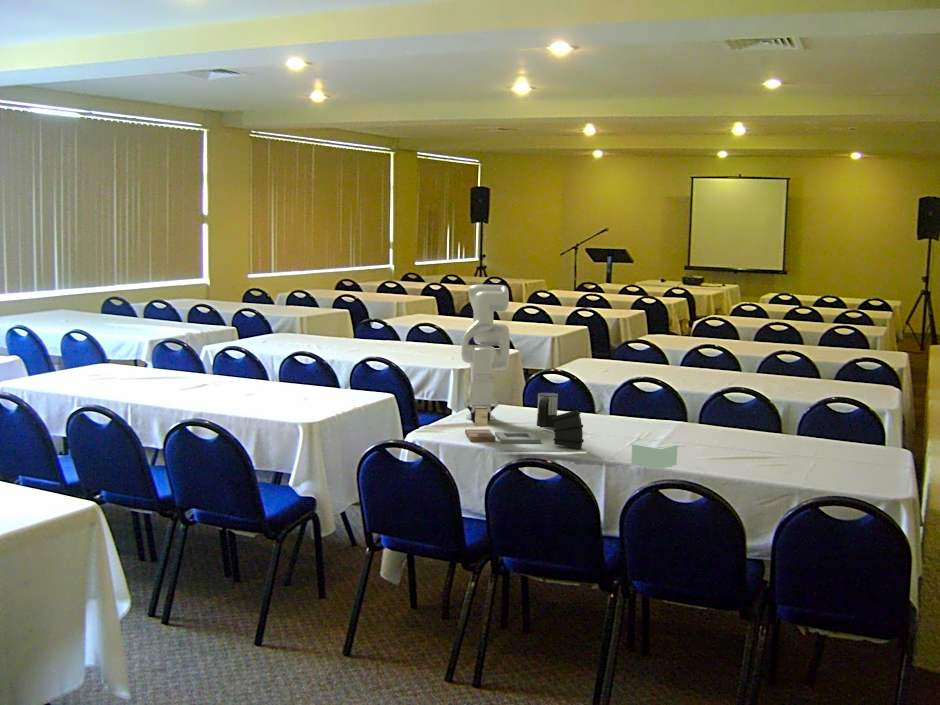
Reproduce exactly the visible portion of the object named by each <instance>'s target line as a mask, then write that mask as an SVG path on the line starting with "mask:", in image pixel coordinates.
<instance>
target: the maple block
mask: <svg viewBox="0 0 940 705" xmlns="http://www.w3.org/2000/svg"><path fill="white" fill-rule="evenodd" d="M474 411H475V423H473V422H472V423H473V425H474V427H488V423H487V422H488V409H487V408H486V407H475V410H474Z"/></svg>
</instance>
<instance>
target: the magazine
mask: <svg viewBox="0 0 940 705" xmlns="http://www.w3.org/2000/svg"><path fill="white" fill-rule="evenodd" d="M551 418H552V420H551V422H553V424H554V428H553V429H554V430H553V433H554V438H552V440H553V441H554V442H553V444H554V445H555V446H556V445H557V446H560V447H566V448H570V449H574V450H575V449H576V450H581V449H582V448H583V443H584V442H585V439H583V433H584V432H583V428H584V424H582V418H581V412H579V409H575V410H573V411H569V412H568V411H567V412H564V413H562V414H557V416H554V417H551Z"/></svg>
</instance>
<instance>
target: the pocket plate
mask: <svg viewBox="0 0 940 705" xmlns="http://www.w3.org/2000/svg"><path fill="white" fill-rule="evenodd" d="M494 436H495V438H496V437H497V438H496V439H497V440H498V442H500V444H541V443H542V440H541V438H540V437H539V436H538V435H536V434H535V433H534V432H533V431H494ZM506 436H522V437H506Z"/></svg>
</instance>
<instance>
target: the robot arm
mask: <svg viewBox="0 0 940 705" xmlns="http://www.w3.org/2000/svg"><path fill="white" fill-rule="evenodd" d="M509 295H510V294H509V288H508V286H506V285H503V284H481V283H480V284H474V285H470V286H469V287H468V300H469V302H470V305H471V308H472V310H473V317H472V319H473V320H472V321H473V322H472V324H471V325H470V326H469V327H468V328H467V329H466V330H465V332H464V334H463V336H462V340H461V359H462V361H463V362H464V363H467V364H469V365H470V381H469V385H468V386H469V387H468V394H467V398H466V399H465V400H464V402H462V405H463V406H464V407H466V409H467V410H468V411H469V414H467V415H465V416H466V419H467V420H470V421H472V423H475V411H474V410H475V407H486V408H487V409H488V422H487V424H488V423H489V421H493V420H495V418H496V417H495V415H493V414H492V412H493V411H494V410H495V409H496V408H497V407H498V406H500V403H499V402H498V401H497V399H496V398H495V394H494V384H493V379H495V375H494V374H492V371H505V370H507V369H508V368H509V364H510V342H511V341H510V338H511V336H510V335H511V334H510V328H509V326H508V325H507V324H503V323H494V313H495V312H506V311H507V310H508V307H509V300H510V298H509V297H510V296H509ZM472 338H473V342H474V343H475V344H469V343H470V342H469V341H470V340H471V339H472ZM494 346H498V347H499V348H495V347H494Z"/></svg>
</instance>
